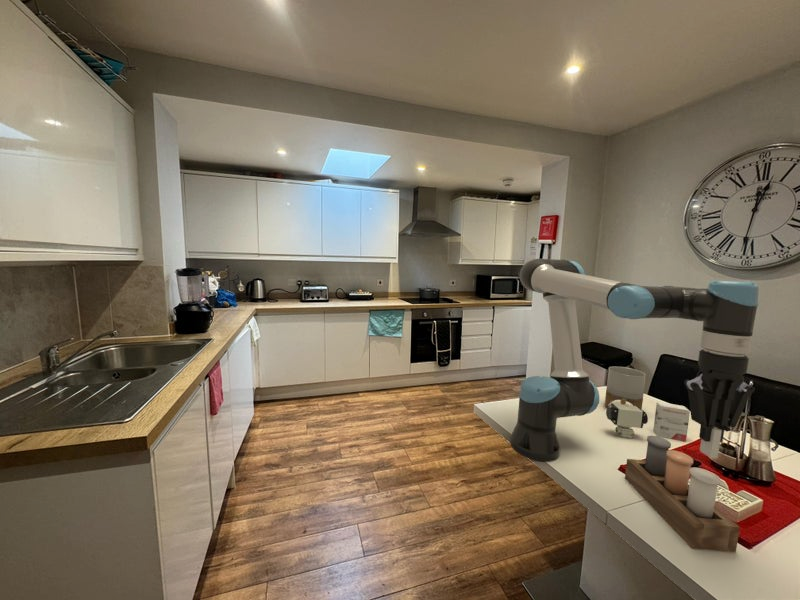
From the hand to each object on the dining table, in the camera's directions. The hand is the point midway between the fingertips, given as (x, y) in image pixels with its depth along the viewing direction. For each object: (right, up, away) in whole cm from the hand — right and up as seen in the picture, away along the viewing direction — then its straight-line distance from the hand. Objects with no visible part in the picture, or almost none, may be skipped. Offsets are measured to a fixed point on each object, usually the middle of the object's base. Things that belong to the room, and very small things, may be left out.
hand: (708, 454), depth 71 cm
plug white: (-1, -14, +2) cm, 14 cm away
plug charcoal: (0, -13, +16) cm, 20 cm away
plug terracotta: (0, -13, +9) cm, 16 cm away
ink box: (+30, -16, +46) cm, 57 cm away
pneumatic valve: (+13, -15, +45) cm, 50 cm away
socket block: (0, -19, +9) cm, 21 cm away
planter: (+27, -14, +66) cm, 73 cm away
